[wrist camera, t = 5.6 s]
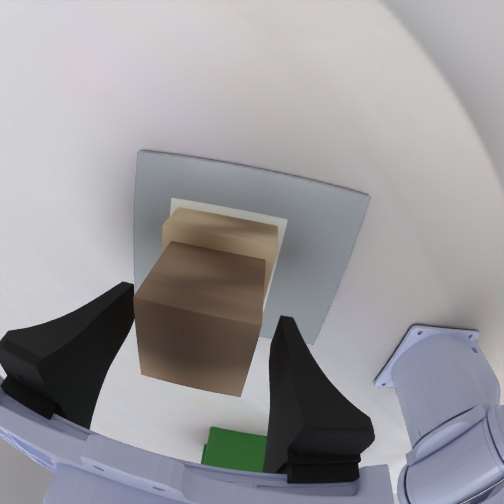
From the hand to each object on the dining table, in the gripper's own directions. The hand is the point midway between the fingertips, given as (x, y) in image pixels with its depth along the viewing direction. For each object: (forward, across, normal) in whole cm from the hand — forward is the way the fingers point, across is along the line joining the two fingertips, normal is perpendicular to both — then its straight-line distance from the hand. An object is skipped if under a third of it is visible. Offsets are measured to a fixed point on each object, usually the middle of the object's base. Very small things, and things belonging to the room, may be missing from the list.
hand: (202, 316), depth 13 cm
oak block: (+6, 0, 0) cm, 6 cm away
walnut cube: (+3, 0, 0) cm, 3 cm away
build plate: (+6, -1, 0) cm, 6 cm away
